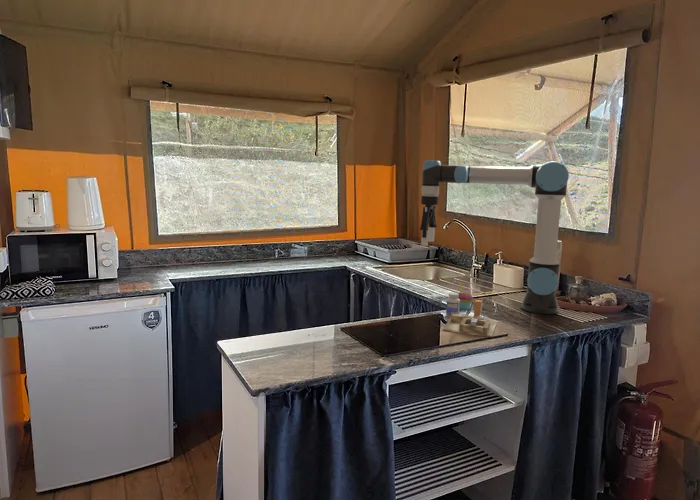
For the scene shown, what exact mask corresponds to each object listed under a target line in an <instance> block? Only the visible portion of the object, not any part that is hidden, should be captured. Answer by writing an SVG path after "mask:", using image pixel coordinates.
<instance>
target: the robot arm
mask: <svg viewBox="0 0 700 500" xmlns="http://www.w3.org/2000/svg"><path fill="white" fill-rule="evenodd" d="M421 171H422V177H421V179H422V180H421V181H422V182H421V187H420V190H421V195H422V196H421V198H420V199H421V200H420V201H421V202H420V203H421V205H425V206H423V208H422V209H423V210H422V216H421V217H422V218H421V224H420V227H419V231H421V237H420V239H421V240H420V245H421V246H428V242H430V243H431V242H435V229H436V228H437V221H436V206H438V205H439V198H440V197H439V195H440V183H443V184H444V183H446V184H447V183H450V184H485V185H486V184H487V185H489V184H490V185H491V184H492V185H494V184H495V185H519V186H521V185H524V186H527V185H528V186H529V187H530V188H535V189H534V190H535V191H534V196H535V197H536V198H537V200H538V201H537V202H538V203H537V213H536V226H535V234H534V235H535V237H534V238H535V239H534V248H533V249H534V250H533V257H531V258H530V259H529V261H528V262H529V263H528V274H527V277H526V281H527V289H526V293H525V295H524V297H523V300H522V302H521V309H522V310H523V311H527V312H529V313H533V314H542V315H554V314H557V313H558V312H559V304H558V300H557V296H556V290H557V288H558V287H559V285H560V280H559V273H560V272H559V271H560V261H558V259H557V251H558V250H557V249H558V240H559V230H560V229H559V228H560V219H561V217H560V216H561V208H562V207H561V206H562V200H563V199H564V198H565V197H566V196H567V188H568V187H567V186H568V181H569V179H570V178H569V175H570V173H569V170H568V168H567V167H566V165H564V163H562V162H560V161H554V160H550V161H546V162H544V163H543V164H532V165H530V166H469V165H462V164H457V165H454V164H453V165H451V164H447V165H446V164H445V165H444V164H442V163H441V161H440V160H432V159H431V160H429V159H427V160H424V161H423V165H422V170H421Z"/></svg>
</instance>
